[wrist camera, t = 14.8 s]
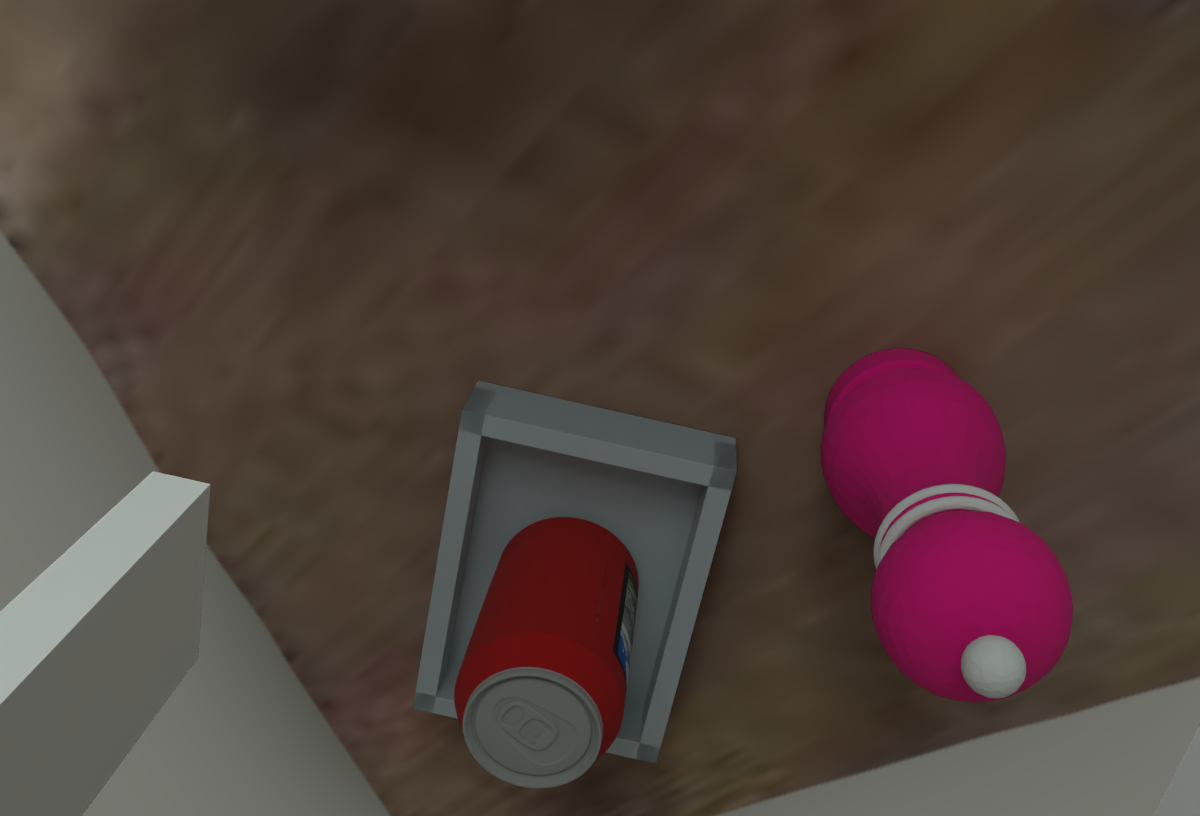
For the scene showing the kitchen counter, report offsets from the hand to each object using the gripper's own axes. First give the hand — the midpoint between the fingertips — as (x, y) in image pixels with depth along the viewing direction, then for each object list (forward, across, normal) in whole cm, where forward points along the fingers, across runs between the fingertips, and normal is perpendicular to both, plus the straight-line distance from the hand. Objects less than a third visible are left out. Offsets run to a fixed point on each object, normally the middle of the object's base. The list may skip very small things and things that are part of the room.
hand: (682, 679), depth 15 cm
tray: (+35, -2, -19) cm, 40 cm away
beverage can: (+34, -2, -19) cm, 39 cm away
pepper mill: (+35, +11, -8) cm, 37 cm away
